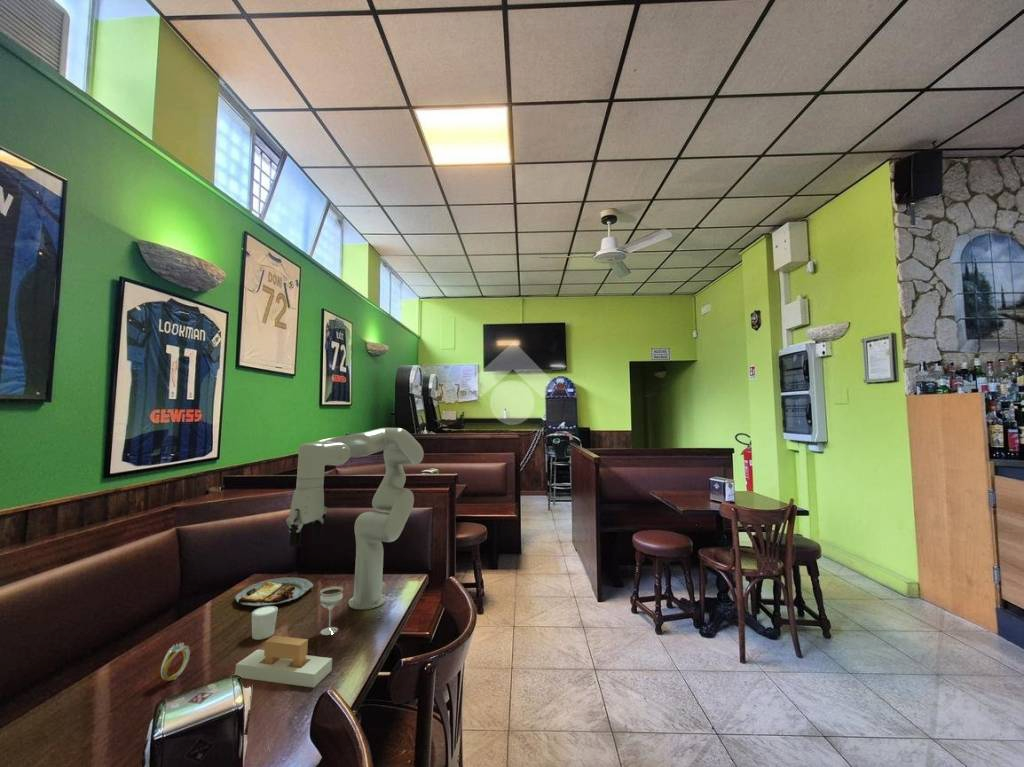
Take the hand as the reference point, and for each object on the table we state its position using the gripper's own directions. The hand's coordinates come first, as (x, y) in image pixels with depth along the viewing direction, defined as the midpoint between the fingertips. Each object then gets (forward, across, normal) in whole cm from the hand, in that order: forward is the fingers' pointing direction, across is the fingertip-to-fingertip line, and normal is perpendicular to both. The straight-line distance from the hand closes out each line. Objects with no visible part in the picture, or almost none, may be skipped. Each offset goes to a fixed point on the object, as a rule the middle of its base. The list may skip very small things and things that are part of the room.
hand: (306, 541), depth 122 cm
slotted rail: (+28, +15, +7) cm, 33 cm away
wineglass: (+28, -7, +5) cm, 30 cm away
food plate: (+29, -26, -30) cm, 50 cm away
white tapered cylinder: (+28, -1, -13) cm, 31 cm away
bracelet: (+28, +22, -18) cm, 40 cm away
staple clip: (+28, +15, +7) cm, 33 cm away
